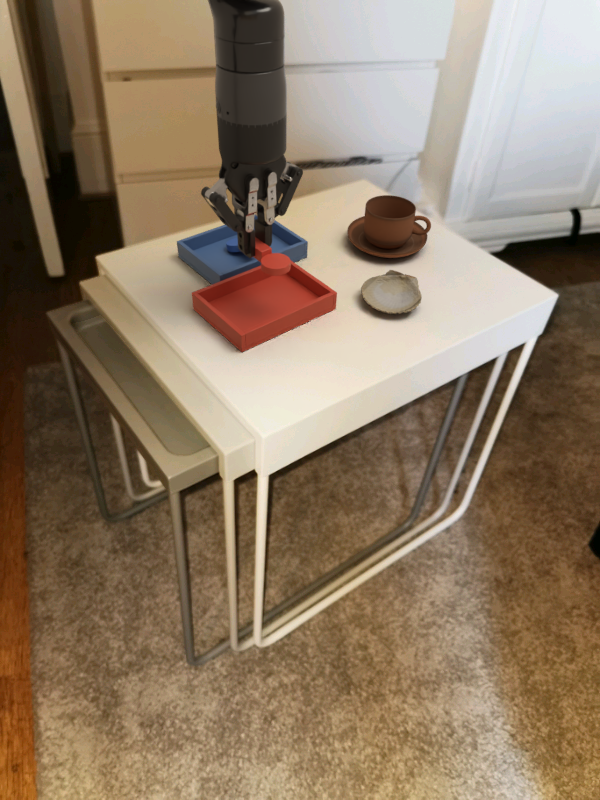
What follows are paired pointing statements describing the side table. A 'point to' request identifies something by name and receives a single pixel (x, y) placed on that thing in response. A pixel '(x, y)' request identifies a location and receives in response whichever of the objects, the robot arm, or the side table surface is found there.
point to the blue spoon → (233, 245)
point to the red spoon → (271, 259)
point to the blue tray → (220, 264)
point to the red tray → (263, 304)
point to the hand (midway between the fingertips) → (255, 251)
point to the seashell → (392, 292)
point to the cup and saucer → (389, 228)
